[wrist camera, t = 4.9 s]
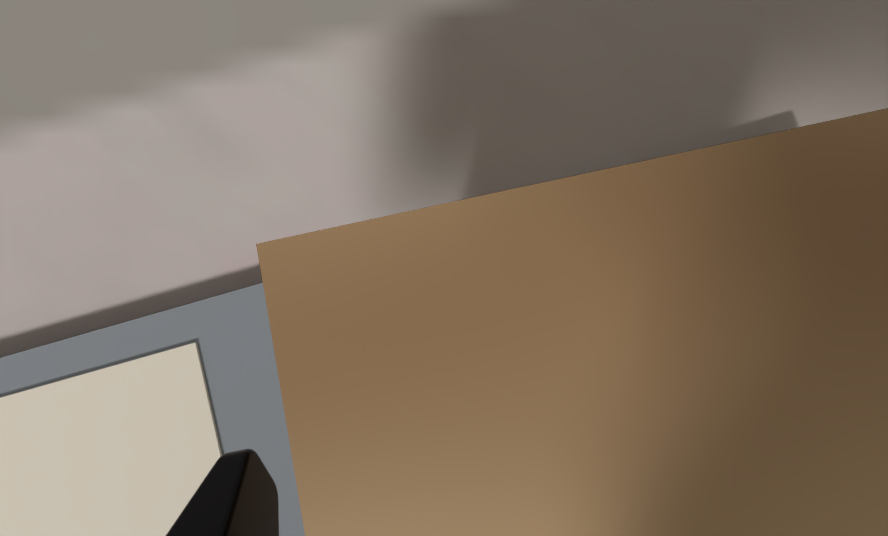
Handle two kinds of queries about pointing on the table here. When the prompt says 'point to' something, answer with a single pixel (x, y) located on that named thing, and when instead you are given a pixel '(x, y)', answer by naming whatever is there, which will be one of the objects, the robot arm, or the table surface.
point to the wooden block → (602, 351)
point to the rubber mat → (141, 420)
